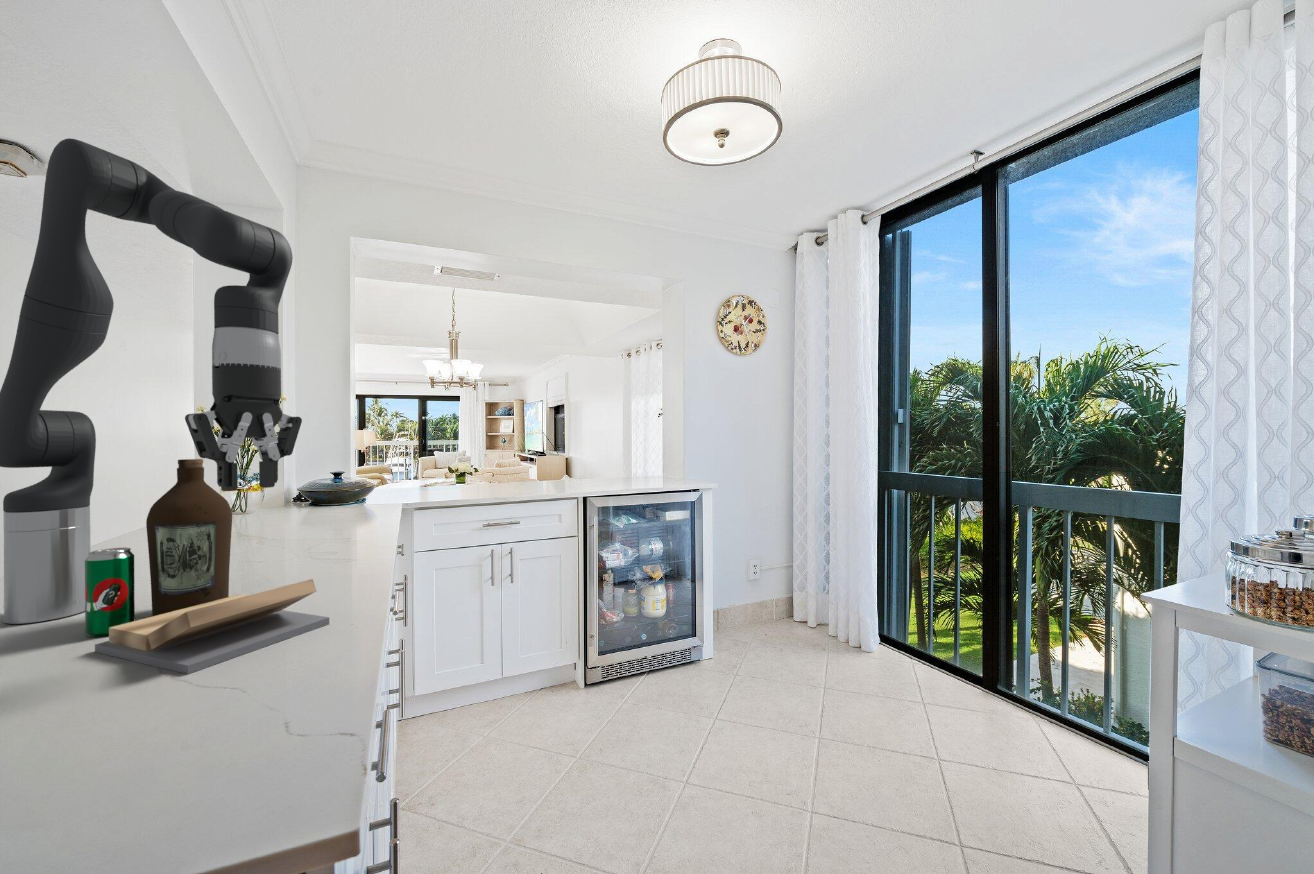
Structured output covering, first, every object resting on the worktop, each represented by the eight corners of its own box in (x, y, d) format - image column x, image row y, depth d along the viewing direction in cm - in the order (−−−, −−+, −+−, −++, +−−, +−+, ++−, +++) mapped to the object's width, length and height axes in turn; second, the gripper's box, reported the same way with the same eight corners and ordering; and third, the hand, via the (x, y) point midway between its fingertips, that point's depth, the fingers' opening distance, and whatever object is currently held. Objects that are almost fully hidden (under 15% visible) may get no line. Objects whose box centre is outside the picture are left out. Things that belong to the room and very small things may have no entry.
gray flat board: (94, 651, 70) (94, 644, 70) (242, 610, 87) (242, 604, 87) (188, 674, 63) (188, 665, 63) (329, 623, 80) (329, 617, 80)
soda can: (144, 626, 80) (143, 546, 80) (106, 638, 75) (105, 554, 75) (114, 625, 80) (114, 546, 80) (74, 637, 75) (74, 553, 75)
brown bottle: (155, 608, 88) (154, 459, 88) (236, 597, 94) (235, 457, 94) (138, 626, 79) (137, 461, 80) (228, 613, 85) (227, 459, 85)
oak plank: (109, 642, 70) (109, 627, 70) (240, 606, 85) (239, 594, 85) (146, 650, 67) (146, 635, 67) (275, 612, 82) (274, 599, 82)
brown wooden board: (151, 649, 67) (147, 634, 67) (280, 610, 82) (276, 598, 82) (190, 627, 64) (186, 611, 64) (316, 591, 79) (312, 578, 79)
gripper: (281, 372, 81) (282, 484, 80) (168, 359, 67) (169, 493, 67) (316, 369, 78) (317, 485, 78) (204, 355, 65) (206, 495, 64)
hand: (248, 488), depth 72 cm, fingers open, 4 cm apart
